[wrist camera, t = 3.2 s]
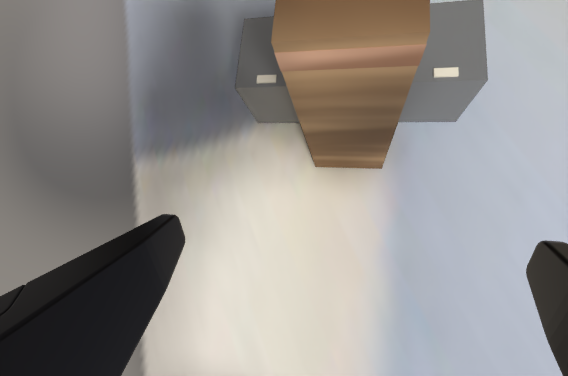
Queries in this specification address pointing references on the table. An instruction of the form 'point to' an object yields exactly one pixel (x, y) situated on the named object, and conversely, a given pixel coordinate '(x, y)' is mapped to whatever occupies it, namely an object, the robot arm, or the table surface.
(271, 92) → the gray block
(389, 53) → the panel
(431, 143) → the table surface
